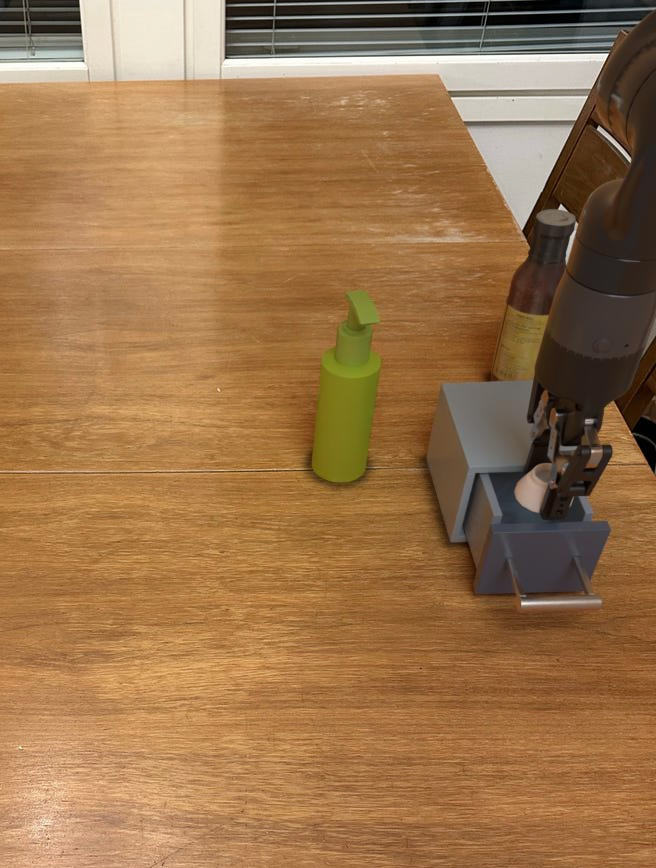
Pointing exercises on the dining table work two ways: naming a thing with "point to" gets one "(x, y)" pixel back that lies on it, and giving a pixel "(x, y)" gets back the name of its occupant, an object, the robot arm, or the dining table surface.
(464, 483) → the drawer unit
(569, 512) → the compartment
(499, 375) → the sauce bottle
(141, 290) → the dining table surface
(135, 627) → the dining table surface
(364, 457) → the soap dispenser
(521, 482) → the white jar
